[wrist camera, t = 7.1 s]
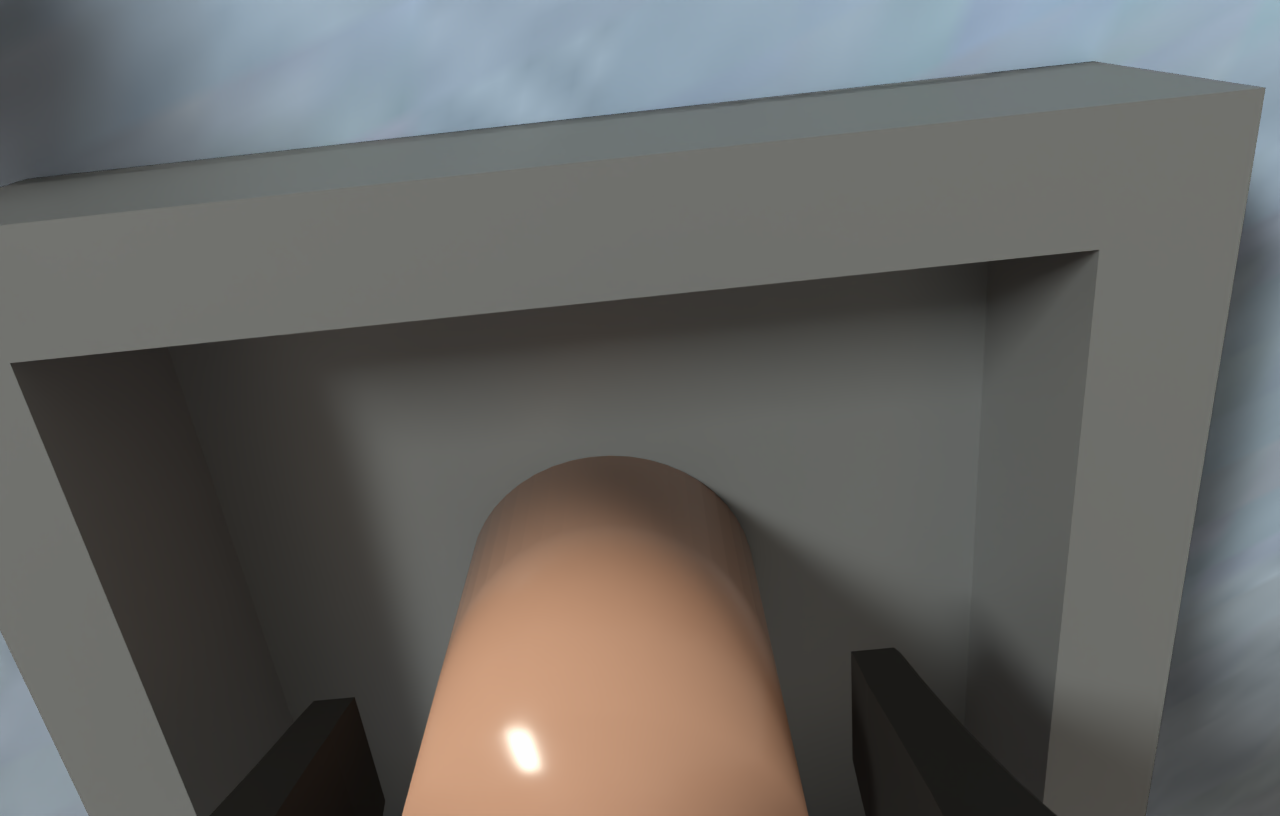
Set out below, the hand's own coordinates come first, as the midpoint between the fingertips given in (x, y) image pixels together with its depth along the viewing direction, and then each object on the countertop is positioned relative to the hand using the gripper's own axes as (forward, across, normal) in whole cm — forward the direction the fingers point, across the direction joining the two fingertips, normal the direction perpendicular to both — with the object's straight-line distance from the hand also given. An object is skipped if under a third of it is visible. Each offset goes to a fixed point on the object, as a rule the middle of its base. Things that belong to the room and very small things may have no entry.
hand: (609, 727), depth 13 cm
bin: (+4, 0, 0) cm, 4 cm away
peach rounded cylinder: (+3, 0, 0) cm, 3 cm away
